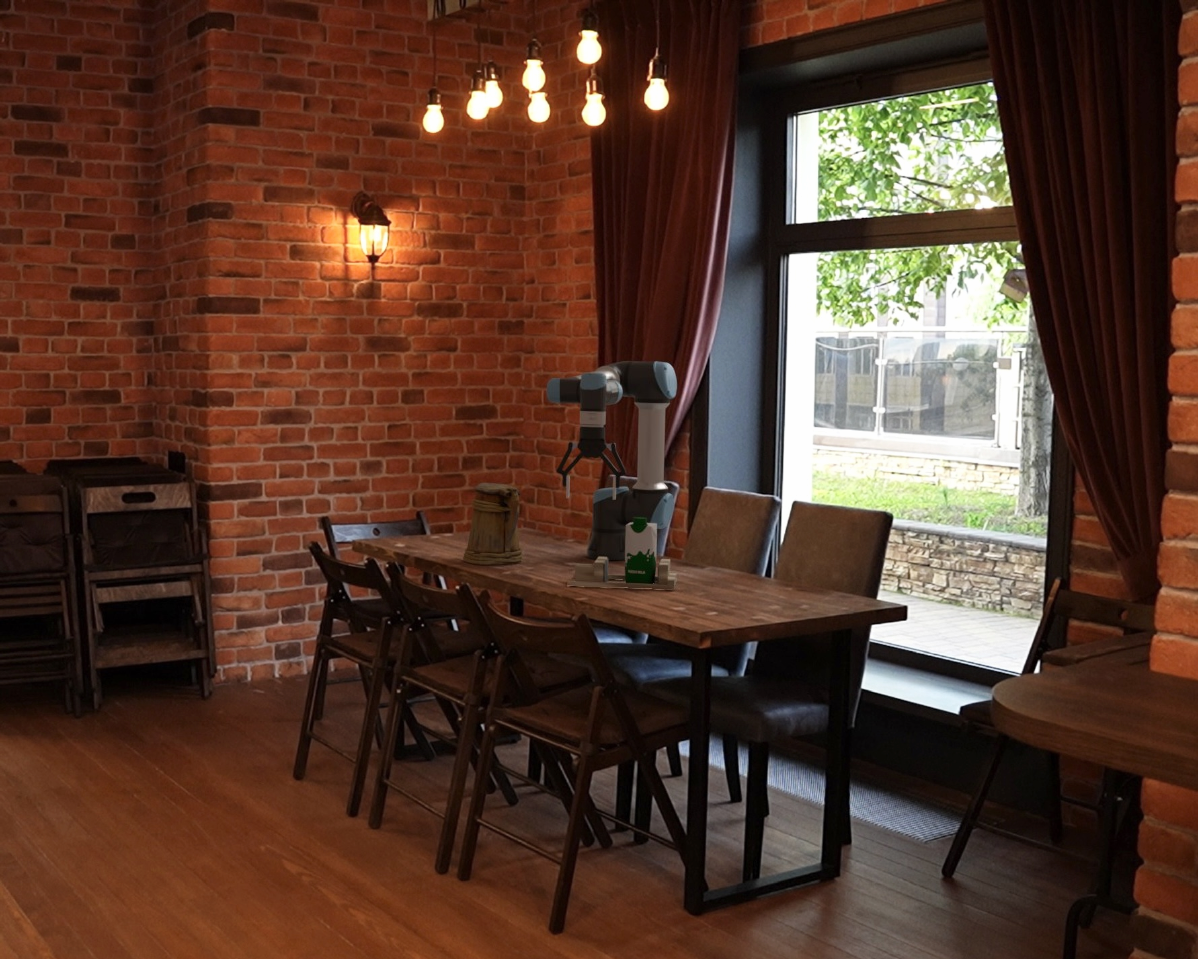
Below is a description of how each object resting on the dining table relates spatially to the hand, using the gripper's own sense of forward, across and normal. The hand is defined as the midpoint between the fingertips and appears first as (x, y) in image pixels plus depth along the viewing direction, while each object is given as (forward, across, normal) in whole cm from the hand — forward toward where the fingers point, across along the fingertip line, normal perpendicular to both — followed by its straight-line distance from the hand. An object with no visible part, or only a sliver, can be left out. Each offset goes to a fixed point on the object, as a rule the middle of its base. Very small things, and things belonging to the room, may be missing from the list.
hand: (590, 498), depth 399 cm
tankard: (+25, -32, +32) cm, 52 cm away
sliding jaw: (+25, +1, -1) cm, 25 cm away
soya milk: (+25, +15, -1) cm, 29 cm away
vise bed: (+25, +10, -1) cm, 27 cm away
